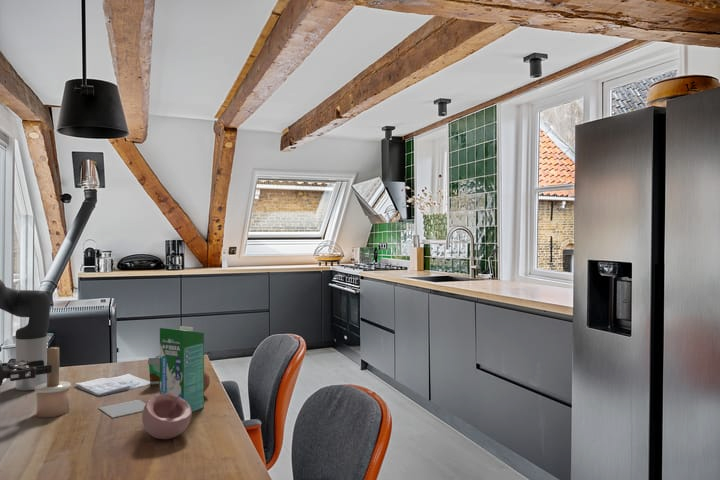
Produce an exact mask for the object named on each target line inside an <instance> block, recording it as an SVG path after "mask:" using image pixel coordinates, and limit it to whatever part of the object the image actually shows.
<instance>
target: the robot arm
mask: <svg viewBox="0 0 720 480" xmlns="http://www.w3.org/2000/svg"><path fill="white" fill-rule="evenodd" d="M0 310H3V311H5V312H6V313H8V314H11V315H13V316H15V317H18V318H19V317H20V318H28V322H27V324H25V326H23V327H20V328H17V329H16V330H15V360H14V361H9V362H2V360H1V359H0V387H2V385H3V383H4V382H3V381H4V380H5V379H9V381H10V382H14V381H15V390H16V391H35V387H36V386H37V385H40V384H44V383H47V373H51V372H52V366H51V365H47V348H48V330H49V326H50V315H51V312H50V311H51V300H50V296H49V294H48V293H47V291H44V290H38V289H36V290H34V289H33V290H30V289H29V290H26V289H23V290H22V289H15V288H10V287H9V286H6V285H5V283H4V281H3V280H2V279H0Z"/></svg>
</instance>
